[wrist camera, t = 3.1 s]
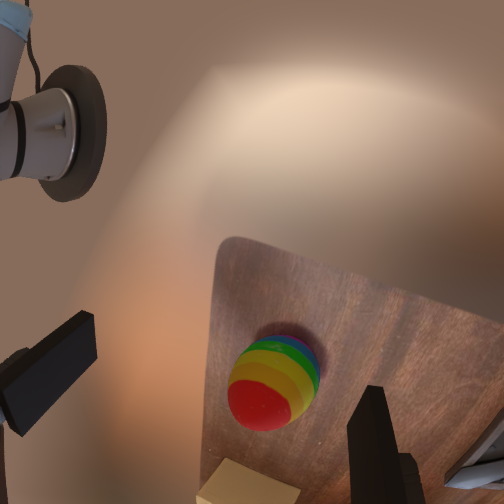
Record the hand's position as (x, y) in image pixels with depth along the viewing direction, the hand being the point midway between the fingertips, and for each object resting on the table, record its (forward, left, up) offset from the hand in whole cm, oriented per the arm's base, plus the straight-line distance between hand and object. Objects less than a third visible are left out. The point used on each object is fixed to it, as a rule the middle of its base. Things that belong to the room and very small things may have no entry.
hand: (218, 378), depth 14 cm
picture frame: (+37, +3, -17) cm, 41 cm away
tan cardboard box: (+23, -39, -17) cm, 48 cm away
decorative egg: (+5, -10, -17) cm, 20 cm away
